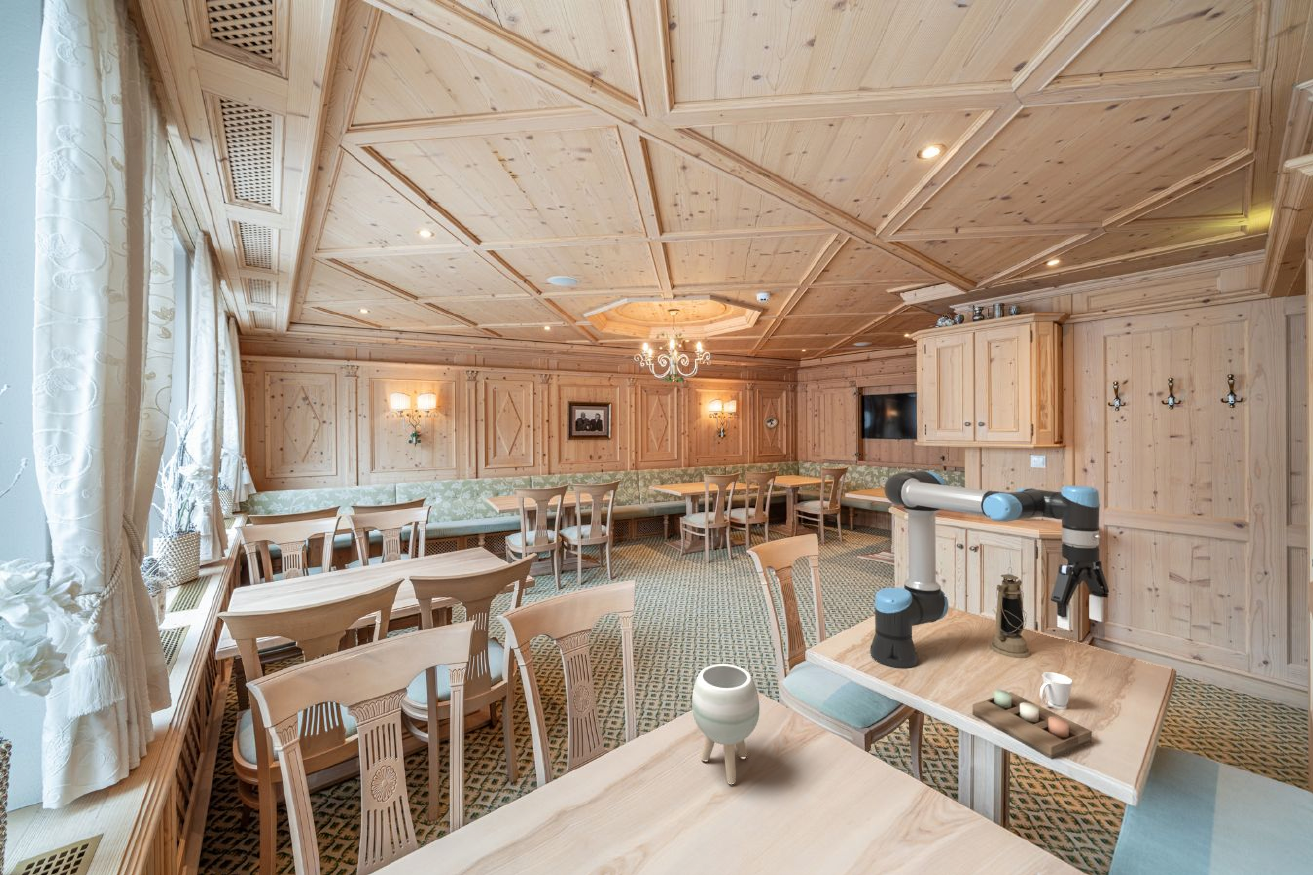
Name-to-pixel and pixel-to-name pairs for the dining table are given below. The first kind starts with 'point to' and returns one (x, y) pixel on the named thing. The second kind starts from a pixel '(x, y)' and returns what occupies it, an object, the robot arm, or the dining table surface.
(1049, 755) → the wooden egg tray
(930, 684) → the dining table surface
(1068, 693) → the cup
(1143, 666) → the dining table surface
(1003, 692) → the pale green egg
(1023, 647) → the lantern
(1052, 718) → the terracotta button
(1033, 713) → the white egg
